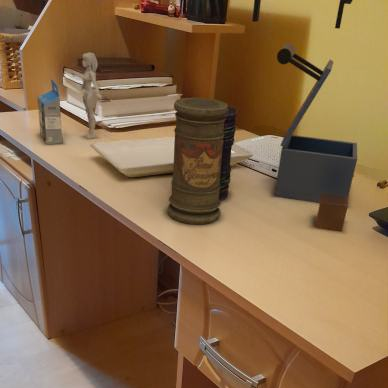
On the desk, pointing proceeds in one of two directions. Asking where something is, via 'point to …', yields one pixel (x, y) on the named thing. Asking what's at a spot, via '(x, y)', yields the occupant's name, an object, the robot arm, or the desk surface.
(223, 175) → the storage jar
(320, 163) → the grey storage bin
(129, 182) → the desk surface
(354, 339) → the desk surface
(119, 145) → the tray
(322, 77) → the lid
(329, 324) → the desk surface
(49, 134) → the label tape box
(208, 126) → the container
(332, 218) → the block
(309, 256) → the desk surface
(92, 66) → the human figurine
